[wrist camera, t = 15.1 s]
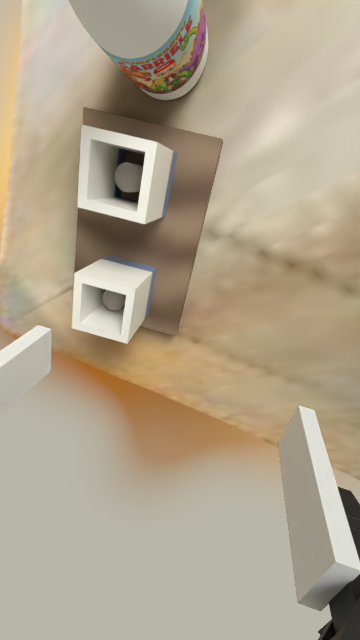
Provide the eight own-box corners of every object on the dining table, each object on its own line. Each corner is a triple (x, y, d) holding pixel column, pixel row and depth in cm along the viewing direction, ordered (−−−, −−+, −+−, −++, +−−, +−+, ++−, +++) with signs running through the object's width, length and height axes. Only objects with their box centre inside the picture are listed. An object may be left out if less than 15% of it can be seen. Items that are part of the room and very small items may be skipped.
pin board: (92, 111, 30) (55, 92, 24) (223, 141, 30) (219, 129, 23) (80, 301, 40) (51, 323, 34) (178, 329, 39) (166, 356, 33)
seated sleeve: (119, 139, 29) (81, 124, 22) (177, 153, 29) (157, 142, 22) (113, 202, 32) (77, 207, 25) (165, 215, 32) (144, 224, 24)
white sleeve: (103, 300, 37) (71, 328, 30) (108, 255, 35) (74, 273, 27) (148, 313, 37) (127, 343, 30) (157, 267, 34) (135, 289, 27)
